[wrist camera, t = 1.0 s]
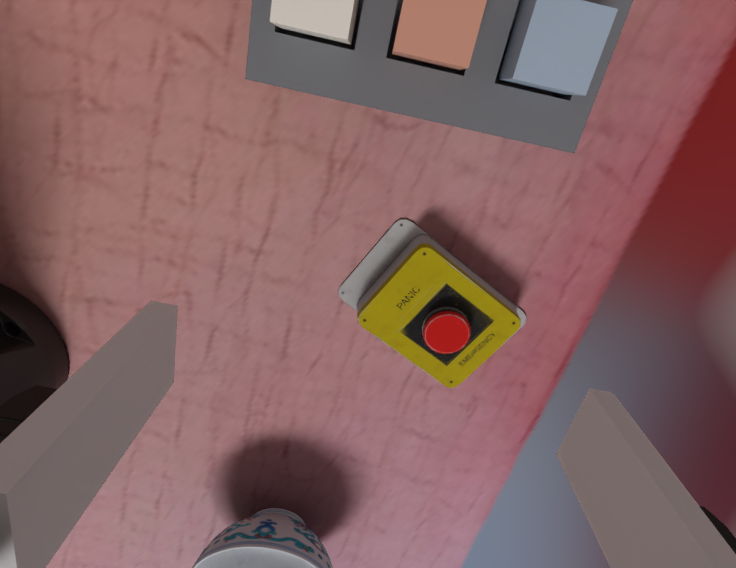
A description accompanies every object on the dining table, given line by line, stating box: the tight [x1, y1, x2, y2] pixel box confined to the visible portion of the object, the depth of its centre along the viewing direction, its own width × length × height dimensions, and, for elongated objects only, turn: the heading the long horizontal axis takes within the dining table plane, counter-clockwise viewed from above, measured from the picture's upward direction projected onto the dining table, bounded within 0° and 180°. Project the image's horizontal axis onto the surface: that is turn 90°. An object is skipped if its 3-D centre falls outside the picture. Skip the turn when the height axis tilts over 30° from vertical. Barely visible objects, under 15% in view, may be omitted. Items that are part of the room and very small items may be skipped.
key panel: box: [245, 0, 633, 153], centre depth 29 cm, size 22×11×4 cm, turn 78°
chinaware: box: [192, 508, 332, 568], centre depth 48 cm, size 15×15×8 cm
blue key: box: [498, 0, 618, 96], centre depth 27 cm, size 4×4×4 cm
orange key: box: [392, 0, 487, 70], centre depth 26 cm, size 4×4×4 cm
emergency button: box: [338, 219, 526, 388], centre depth 38 cm, size 9×4×15 cm
